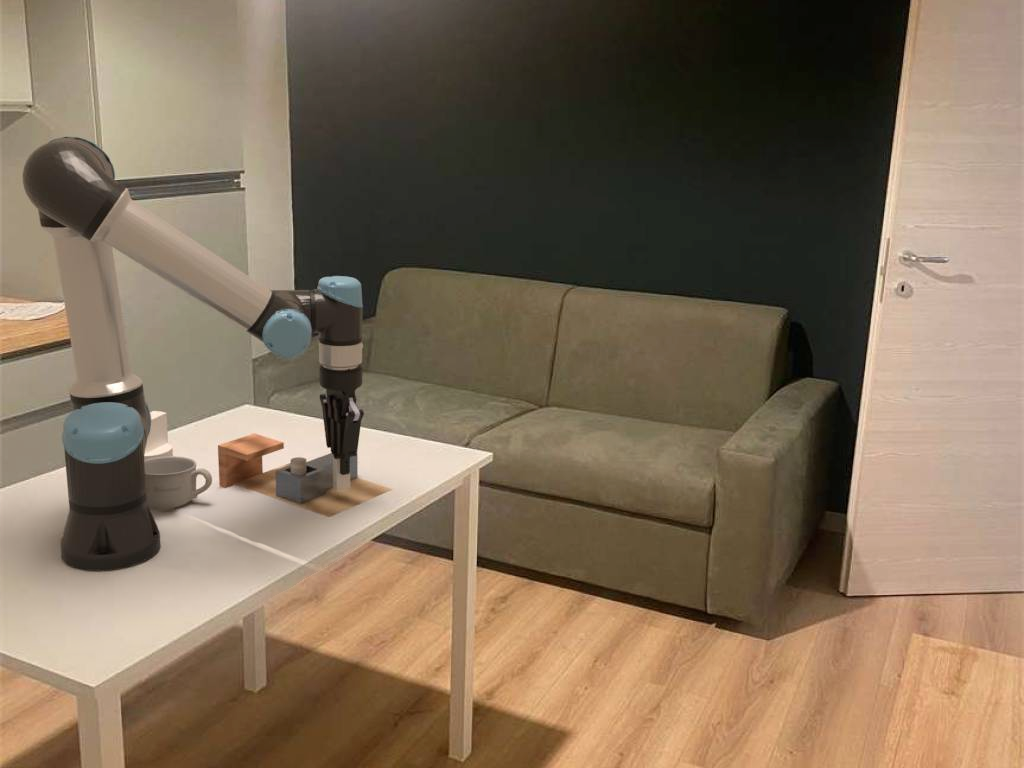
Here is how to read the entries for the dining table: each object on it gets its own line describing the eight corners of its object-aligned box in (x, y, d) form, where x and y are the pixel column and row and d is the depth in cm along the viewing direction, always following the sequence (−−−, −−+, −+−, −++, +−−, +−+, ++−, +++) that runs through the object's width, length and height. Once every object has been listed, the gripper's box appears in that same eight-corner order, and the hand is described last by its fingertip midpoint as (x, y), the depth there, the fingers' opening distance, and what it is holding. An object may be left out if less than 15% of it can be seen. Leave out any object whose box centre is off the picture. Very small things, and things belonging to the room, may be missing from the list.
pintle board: (325, 524, 185) (324, 480, 182) (219, 486, 199) (217, 445, 197) (392, 494, 199) (393, 453, 197) (289, 460, 214) (288, 422, 211)
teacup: (122, 510, 187) (119, 468, 185) (162, 490, 197) (159, 449, 194) (188, 524, 182) (186, 481, 180) (225, 502, 192) (223, 461, 190)
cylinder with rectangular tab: (154, 489, 197) (150, 428, 193) (114, 481, 199) (110, 421, 196) (183, 473, 205) (180, 414, 202) (144, 466, 208) (141, 408, 204)
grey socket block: (300, 504, 190) (300, 478, 189) (275, 495, 193) (275, 470, 192) (362, 479, 203) (362, 455, 201) (337, 471, 206) (337, 447, 205)
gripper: (377, 370, 183) (376, 496, 190) (343, 353, 193) (344, 473, 200) (338, 376, 179) (339, 504, 186) (305, 358, 189) (307, 481, 196)
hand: (341, 488), depth 193 cm, fingers closed
